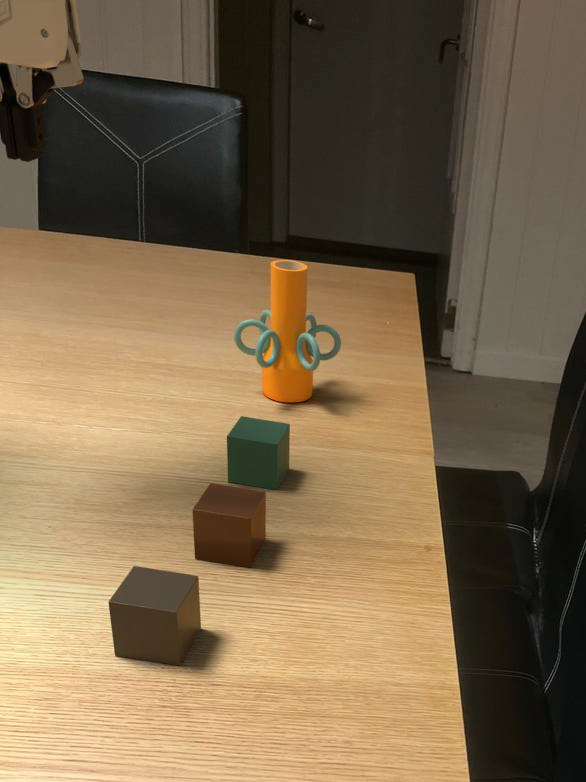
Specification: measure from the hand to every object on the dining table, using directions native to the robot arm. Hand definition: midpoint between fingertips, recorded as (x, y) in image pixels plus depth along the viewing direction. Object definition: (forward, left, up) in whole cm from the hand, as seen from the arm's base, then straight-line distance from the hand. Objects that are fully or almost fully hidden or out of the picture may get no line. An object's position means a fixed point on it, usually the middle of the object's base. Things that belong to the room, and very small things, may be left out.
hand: (25, 157), depth 78 cm
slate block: (-5, -33, -27) cm, 43 cm away
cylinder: (+28, +5, -27) cm, 39 cm away
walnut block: (+6, -23, -27) cm, 36 cm away
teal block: (+15, -12, -27) cm, 33 cm away
